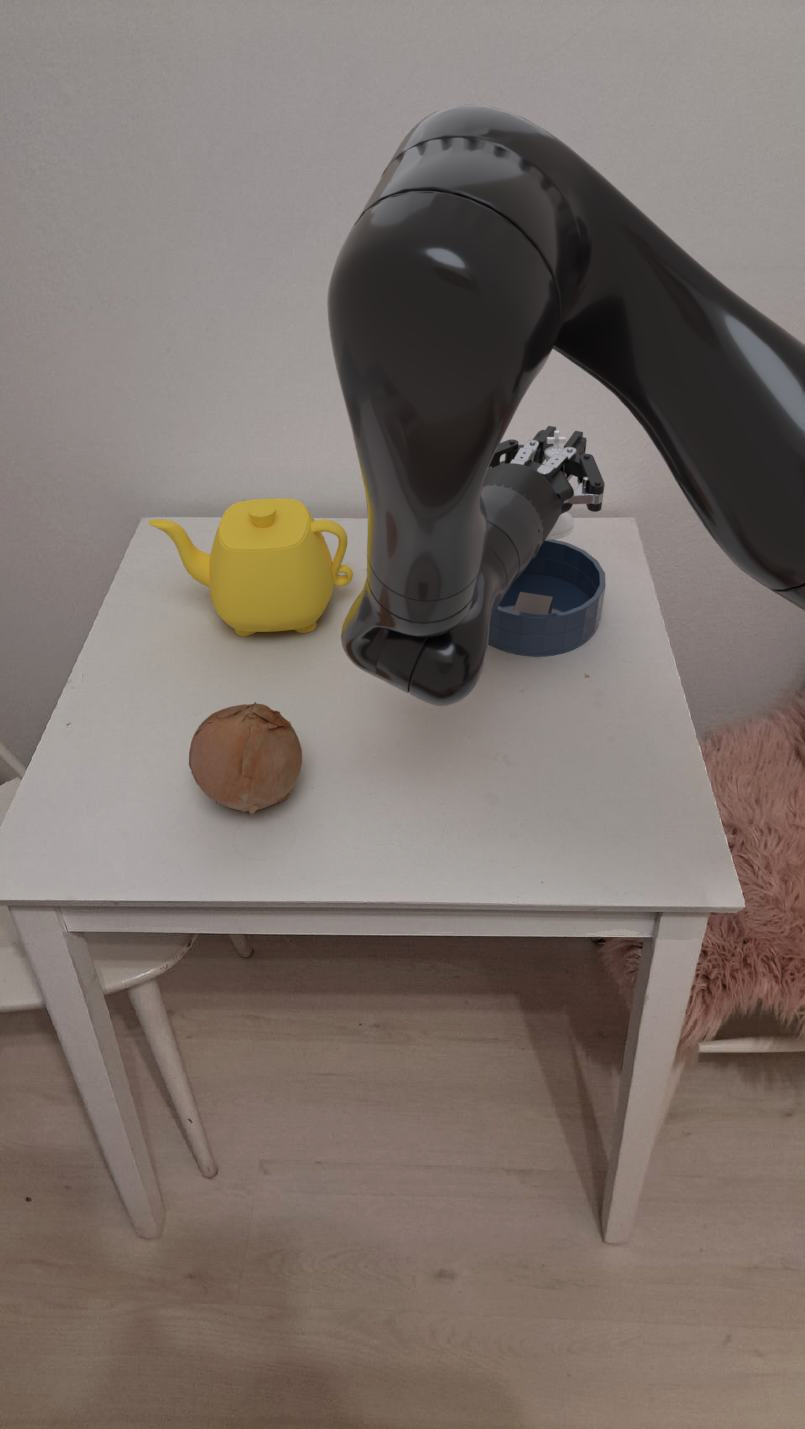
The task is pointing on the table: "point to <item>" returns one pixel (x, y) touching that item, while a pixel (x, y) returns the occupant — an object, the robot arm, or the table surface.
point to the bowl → (573, 609)
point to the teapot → (266, 565)
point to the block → (533, 604)
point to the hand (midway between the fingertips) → (564, 438)
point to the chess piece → (565, 520)
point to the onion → (246, 757)
